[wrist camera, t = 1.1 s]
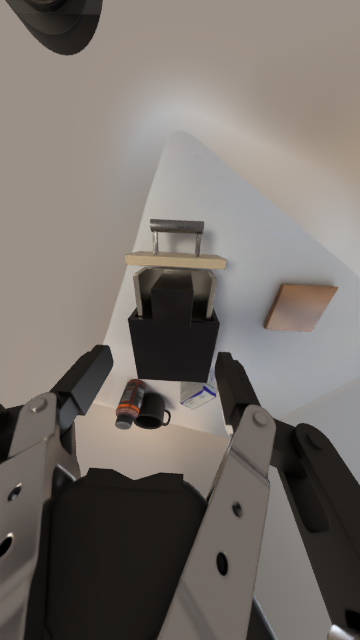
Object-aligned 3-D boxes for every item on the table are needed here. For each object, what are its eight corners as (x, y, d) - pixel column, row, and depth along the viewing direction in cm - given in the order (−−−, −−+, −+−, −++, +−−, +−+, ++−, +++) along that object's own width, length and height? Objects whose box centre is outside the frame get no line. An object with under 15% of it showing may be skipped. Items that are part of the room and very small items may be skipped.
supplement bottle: (123, 383, 44) (105, 424, 34) (135, 376, 42) (119, 417, 32) (137, 392, 46) (125, 433, 37) (149, 385, 44) (139, 427, 34)
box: (191, 380, 42) (193, 411, 35) (180, 374, 41) (179, 403, 33) (211, 367, 39) (216, 397, 32) (199, 359, 38) (202, 389, 30)
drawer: (136, 221, 22) (118, 215, 16) (221, 225, 22) (234, 220, 16) (145, 318, 31) (136, 337, 25) (206, 322, 31) (211, 341, 25)
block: (162, 271, 25) (150, 288, 16) (191, 273, 25) (194, 291, 16) (163, 298, 27) (152, 325, 18) (189, 299, 27) (190, 327, 18)
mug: (135, 400, 49) (128, 423, 43) (146, 387, 45) (140, 411, 39) (165, 411, 52) (162, 435, 45) (178, 400, 48) (176, 424, 41)
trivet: (281, 283, 27) (284, 284, 26) (333, 285, 27) (338, 287, 26) (263, 326, 32) (265, 329, 31) (307, 329, 32) (311, 331, 31)
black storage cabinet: (142, 298, 30) (127, 318, 22) (211, 302, 29) (219, 324, 22) (147, 350, 37) (138, 378, 29) (202, 354, 37) (207, 383, 29)
